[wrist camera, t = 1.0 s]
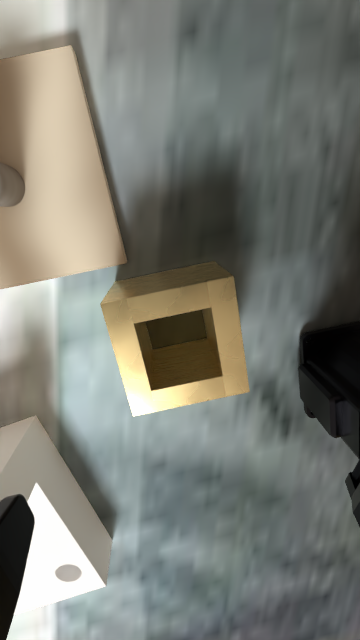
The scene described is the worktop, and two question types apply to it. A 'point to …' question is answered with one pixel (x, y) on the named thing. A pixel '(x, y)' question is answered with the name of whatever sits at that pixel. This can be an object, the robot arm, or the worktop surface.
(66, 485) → the bracket
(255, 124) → the worktop surface
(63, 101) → the post board
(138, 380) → the brass collar
